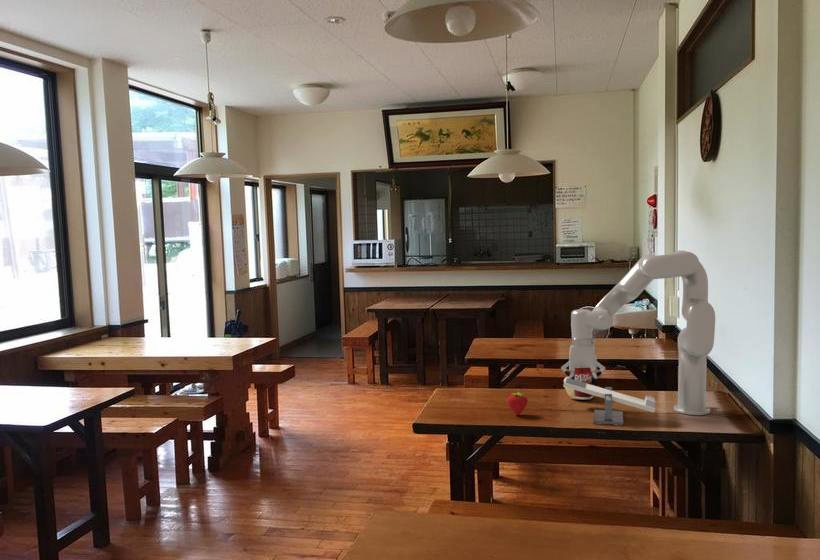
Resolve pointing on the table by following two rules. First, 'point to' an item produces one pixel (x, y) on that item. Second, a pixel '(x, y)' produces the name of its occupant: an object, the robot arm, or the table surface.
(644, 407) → the beam
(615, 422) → the fulcrum stand
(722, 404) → the table surface
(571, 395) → the sculpture
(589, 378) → the soda can
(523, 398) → the strawberry
